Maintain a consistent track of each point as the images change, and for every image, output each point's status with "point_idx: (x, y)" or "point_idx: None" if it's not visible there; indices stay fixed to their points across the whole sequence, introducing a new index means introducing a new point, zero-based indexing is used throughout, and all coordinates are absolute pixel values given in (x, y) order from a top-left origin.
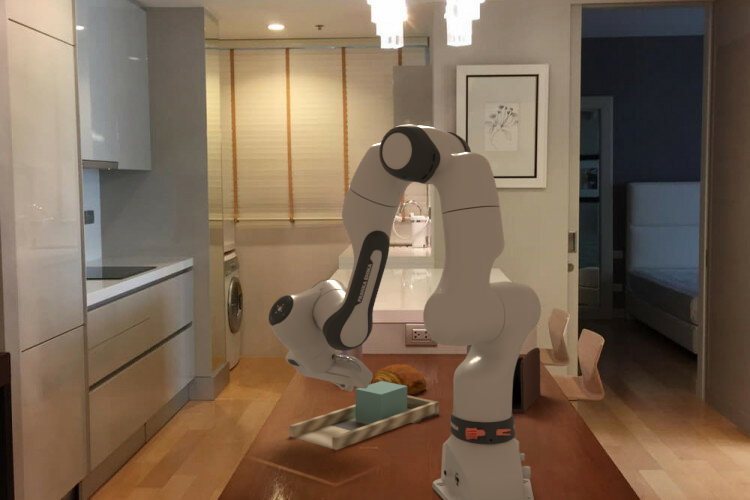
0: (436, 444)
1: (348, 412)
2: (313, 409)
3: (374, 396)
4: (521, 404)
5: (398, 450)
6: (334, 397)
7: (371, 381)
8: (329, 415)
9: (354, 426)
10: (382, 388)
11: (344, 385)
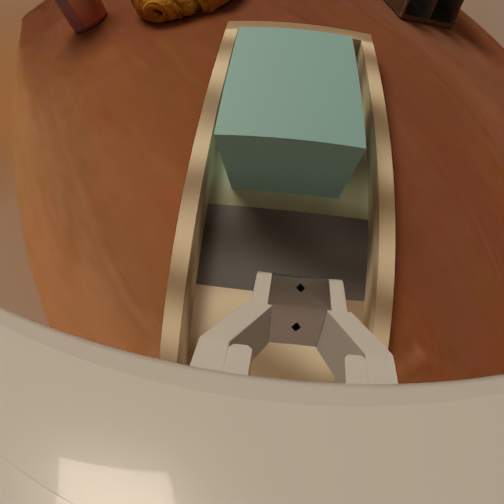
0: (498, 240)
1: (204, 188)
2: (78, 175)
3: (326, 150)
4: (453, 18)
5: (468, 333)
6: (89, 86)
7: (136, 10)
8: (186, 282)
9: (273, 250)
10: (306, 80)
11: (299, 336)
